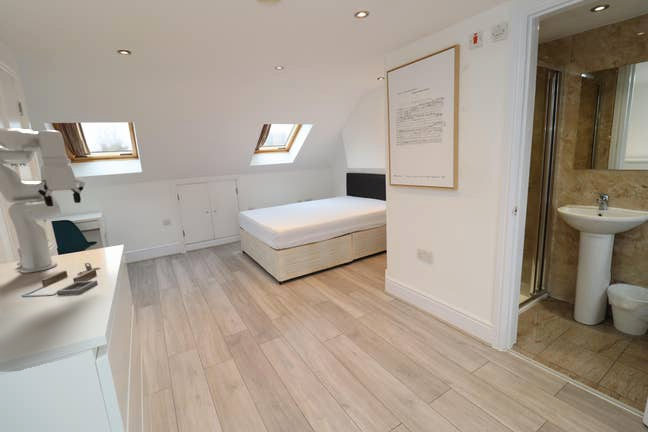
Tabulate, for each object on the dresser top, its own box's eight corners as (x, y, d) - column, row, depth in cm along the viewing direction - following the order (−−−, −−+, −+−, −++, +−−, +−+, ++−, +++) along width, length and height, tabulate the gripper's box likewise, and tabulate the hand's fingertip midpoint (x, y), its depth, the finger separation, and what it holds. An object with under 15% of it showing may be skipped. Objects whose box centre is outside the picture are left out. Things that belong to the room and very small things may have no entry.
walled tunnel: (42, 285, 119) (41, 279, 118) (64, 276, 128) (62, 270, 128) (78, 284, 119) (76, 278, 118) (96, 274, 128) (95, 269, 128)
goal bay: (19, 297, 109) (19, 296, 109) (42, 286, 118) (42, 286, 118) (52, 295, 109) (52, 294, 109) (73, 285, 118) (73, 284, 118)
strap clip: (81, 275, 129) (80, 266, 128) (76, 275, 130) (74, 266, 129) (101, 269, 137) (99, 260, 136) (96, 268, 138) (94, 259, 137)
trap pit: (57, 295, 109) (56, 291, 109) (77, 285, 118) (76, 281, 117) (79, 294, 109) (78, 290, 109) (97, 284, 118) (97, 280, 117)
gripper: (74, 162, 130) (82, 201, 133) (23, 163, 114) (33, 207, 117) (85, 161, 127) (92, 201, 130) (33, 162, 111) (43, 207, 114)
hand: (64, 204), depth 124 cm, fingers open, 9 cm apart
